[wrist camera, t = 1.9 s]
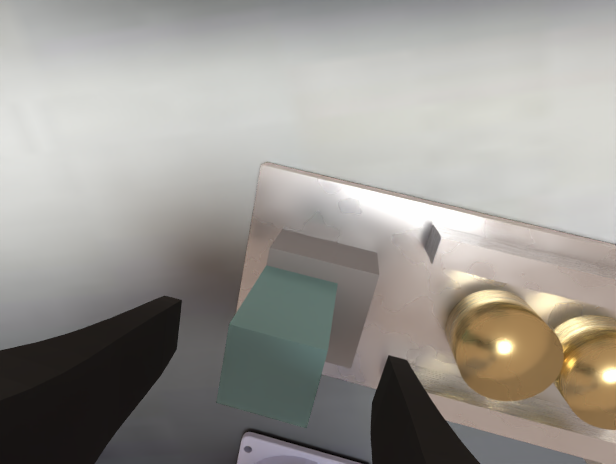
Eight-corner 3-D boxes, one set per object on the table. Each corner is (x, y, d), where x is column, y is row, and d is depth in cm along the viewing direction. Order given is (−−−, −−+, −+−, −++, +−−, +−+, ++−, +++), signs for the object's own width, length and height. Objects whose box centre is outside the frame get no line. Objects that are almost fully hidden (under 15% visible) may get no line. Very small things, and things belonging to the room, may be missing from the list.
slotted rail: (582, 431, 20) (616, 481, 17) (235, 338, 21) (217, 371, 18) (684, 261, 16) (747, 289, 14) (266, 162, 17) (249, 170, 15)
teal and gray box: (352, 336, 19) (346, 459, 12) (265, 313, 19) (213, 421, 12) (377, 252, 17) (386, 341, 10) (282, 228, 17) (233, 301, 11)
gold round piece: (612, 399, 18) (649, 441, 15) (527, 376, 18) (550, 415, 16) (654, 327, 16) (701, 362, 14) (561, 305, 17) (592, 335, 14)
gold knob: (520, 373, 18) (544, 410, 16) (436, 355, 18) (446, 389, 16) (549, 299, 17) (579, 327, 14) (458, 281, 17) (473, 306, 15)
